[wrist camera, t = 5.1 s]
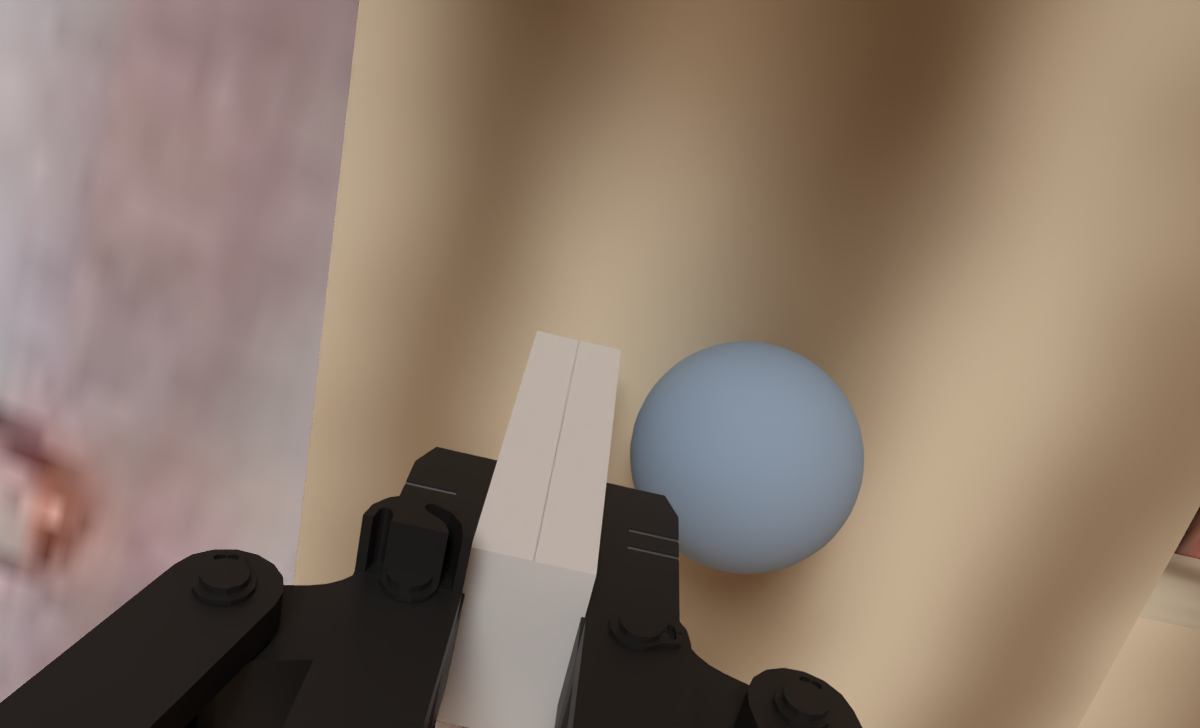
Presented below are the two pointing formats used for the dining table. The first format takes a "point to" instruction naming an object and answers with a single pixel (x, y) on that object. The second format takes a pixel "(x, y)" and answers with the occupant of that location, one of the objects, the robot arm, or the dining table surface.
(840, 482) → the ball
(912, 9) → the board
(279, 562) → the dining table surface
